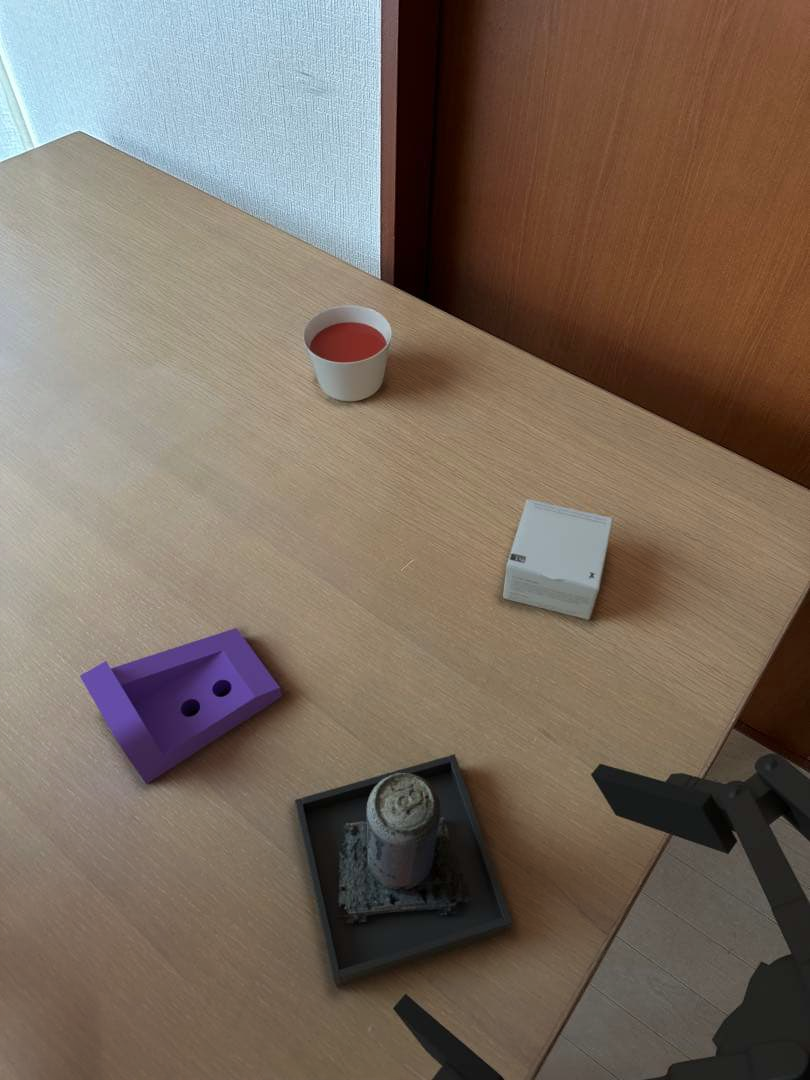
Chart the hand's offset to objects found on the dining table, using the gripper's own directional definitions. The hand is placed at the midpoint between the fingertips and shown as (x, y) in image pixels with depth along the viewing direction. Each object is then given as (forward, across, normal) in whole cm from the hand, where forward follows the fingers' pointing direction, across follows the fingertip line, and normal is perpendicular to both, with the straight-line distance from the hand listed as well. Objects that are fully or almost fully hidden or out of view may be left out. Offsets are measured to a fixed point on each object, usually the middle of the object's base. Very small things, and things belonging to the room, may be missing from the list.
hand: (518, 896), depth 37 cm
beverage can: (+21, +1, -8) cm, 22 cm away
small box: (+27, +29, -4) cm, 39 cm away
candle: (+49, +34, +18) cm, 62 cm away
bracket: (+36, -1, +6) cm, 36 cm away
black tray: (+21, +1, -9) cm, 23 cm away
